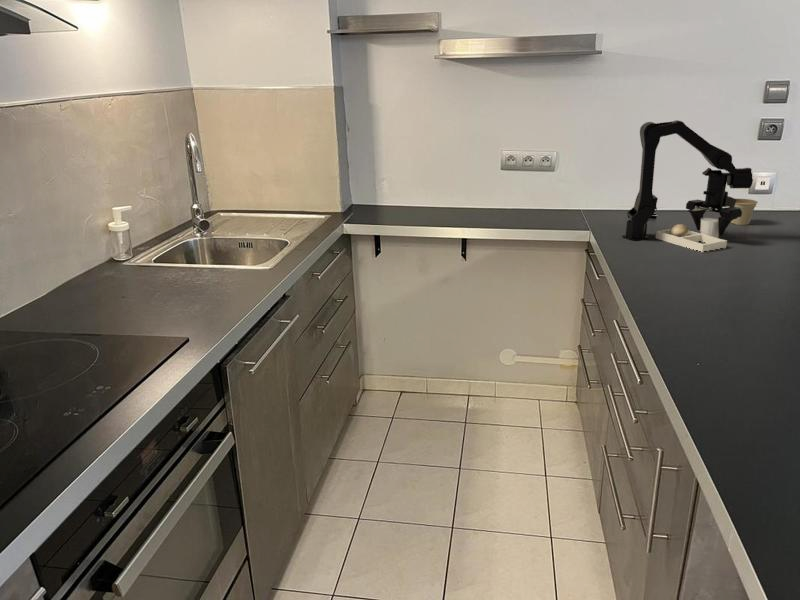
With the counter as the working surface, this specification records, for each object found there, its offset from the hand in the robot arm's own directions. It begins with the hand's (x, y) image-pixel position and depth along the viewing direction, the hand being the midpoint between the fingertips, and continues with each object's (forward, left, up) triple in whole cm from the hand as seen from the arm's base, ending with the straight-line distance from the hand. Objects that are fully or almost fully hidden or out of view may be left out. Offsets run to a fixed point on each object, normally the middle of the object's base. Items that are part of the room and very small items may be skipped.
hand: (709, 233), depth 215 cm
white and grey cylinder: (0, 0, -2) cm, 2 cm away
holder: (-10, -1, -2) cm, 10 cm away
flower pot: (+27, +10, -2) cm, 29 cm away
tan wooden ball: (-10, +4, -2) cm, 11 cm away
